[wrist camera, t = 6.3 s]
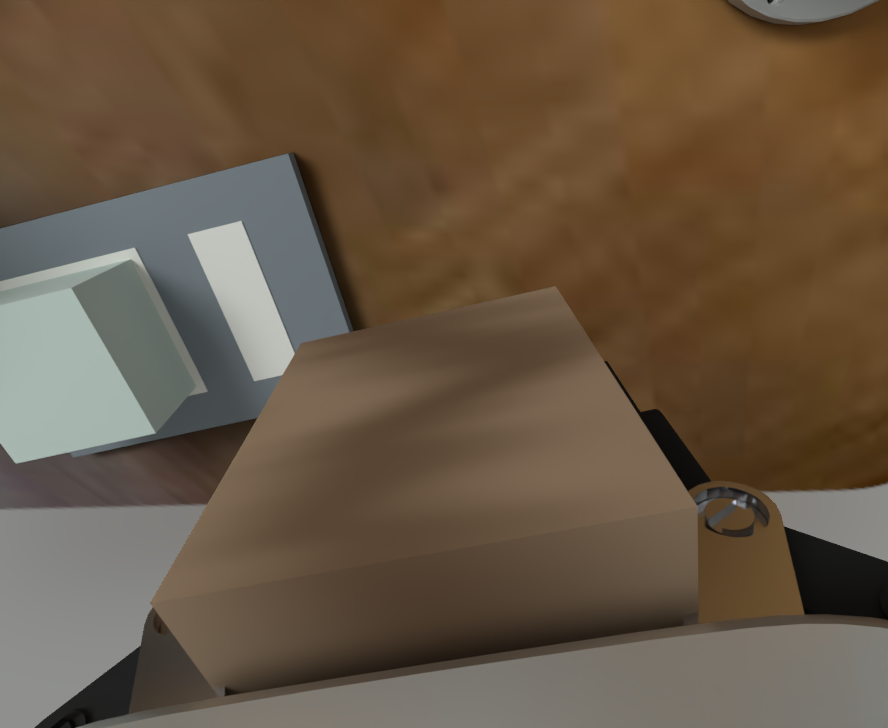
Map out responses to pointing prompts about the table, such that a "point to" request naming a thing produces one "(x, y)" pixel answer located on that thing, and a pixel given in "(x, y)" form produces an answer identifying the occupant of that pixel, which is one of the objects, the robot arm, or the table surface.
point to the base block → (85, 363)
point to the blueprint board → (204, 278)
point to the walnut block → (434, 506)
